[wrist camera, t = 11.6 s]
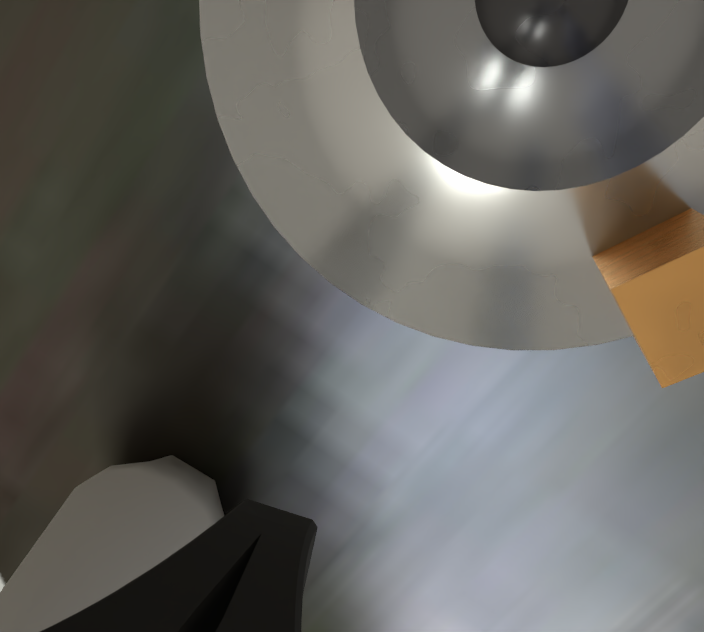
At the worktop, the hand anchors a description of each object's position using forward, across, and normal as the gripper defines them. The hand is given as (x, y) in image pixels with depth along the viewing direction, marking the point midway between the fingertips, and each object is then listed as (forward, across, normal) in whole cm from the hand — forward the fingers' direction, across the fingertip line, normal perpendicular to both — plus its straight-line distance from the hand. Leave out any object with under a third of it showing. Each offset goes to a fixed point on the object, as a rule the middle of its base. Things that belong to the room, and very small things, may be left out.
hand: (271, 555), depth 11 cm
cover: (+7, -2, -10) cm, 13 cm away
